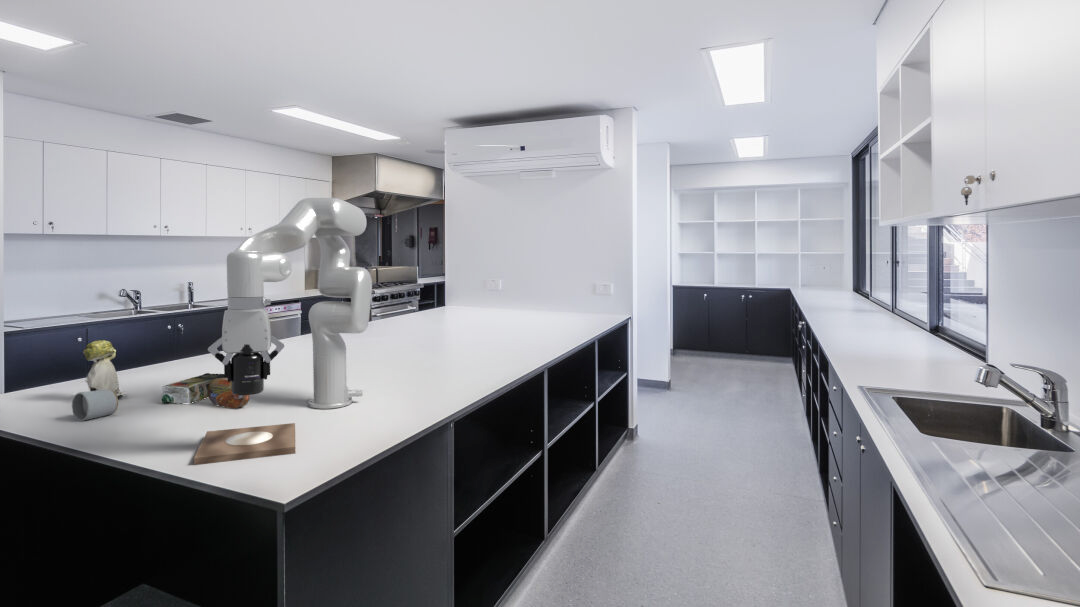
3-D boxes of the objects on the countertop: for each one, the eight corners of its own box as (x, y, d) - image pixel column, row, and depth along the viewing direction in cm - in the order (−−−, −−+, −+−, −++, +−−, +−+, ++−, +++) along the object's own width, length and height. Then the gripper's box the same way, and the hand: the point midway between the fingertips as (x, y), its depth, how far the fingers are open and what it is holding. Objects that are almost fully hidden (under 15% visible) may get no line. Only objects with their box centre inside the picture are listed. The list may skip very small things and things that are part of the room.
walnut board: (295, 428, 146) (295, 422, 146) (295, 453, 128) (295, 446, 128) (207, 437, 138) (207, 430, 138) (194, 464, 120) (193, 457, 120)
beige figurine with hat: (132, 393, 181) (130, 337, 179) (117, 403, 168) (114, 343, 167) (88, 395, 177) (85, 338, 175) (69, 406, 164) (66, 344, 163)
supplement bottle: (250, 396, 128) (249, 345, 127) (224, 395, 129) (223, 343, 128) (270, 390, 135) (269, 341, 134) (245, 388, 136) (244, 339, 135)
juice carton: (232, 390, 187) (231, 373, 187) (187, 406, 167) (186, 387, 167) (205, 389, 188) (205, 372, 188) (158, 404, 169) (157, 385, 168)
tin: (207, 404, 169) (206, 377, 168) (216, 402, 172) (215, 375, 171) (243, 410, 163) (242, 382, 162) (252, 407, 166) (251, 380, 165)
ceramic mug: (121, 415, 156) (120, 388, 156) (88, 422, 149) (87, 394, 148) (97, 410, 160) (96, 384, 160) (64, 418, 153) (62, 390, 152)
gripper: (286, 302, 137) (288, 374, 139) (205, 303, 130) (207, 379, 132) (286, 305, 131) (287, 380, 132) (200, 306, 124) (203, 385, 125)
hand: (247, 378), depth 132 cm, fingers closed on supplement bottle, 6 cm apart
